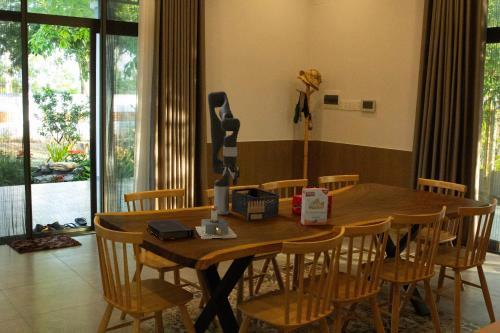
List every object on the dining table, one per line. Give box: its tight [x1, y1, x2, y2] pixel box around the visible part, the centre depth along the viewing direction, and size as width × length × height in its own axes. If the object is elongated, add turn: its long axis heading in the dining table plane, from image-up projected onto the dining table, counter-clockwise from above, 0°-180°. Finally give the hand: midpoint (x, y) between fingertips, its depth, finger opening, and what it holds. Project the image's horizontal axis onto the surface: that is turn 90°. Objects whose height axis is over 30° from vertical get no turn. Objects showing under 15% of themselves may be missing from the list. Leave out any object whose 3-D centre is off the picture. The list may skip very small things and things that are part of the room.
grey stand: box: [195, 218, 238, 240], centre depth 300 cm, size 22×18×6 cm
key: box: [210, 205, 218, 223], centre depth 302 cm, size 4×4×12 cm
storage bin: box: [230, 187, 280, 218], centre depth 351 cm, size 29×19×13 cm
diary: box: [145, 219, 195, 239], centre depth 298 cm, size 19×25×5 cm
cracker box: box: [300, 187, 329, 226], centre depth 325 cm, size 14×6×21 cm, turn 105°
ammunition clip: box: [246, 200, 266, 222], centre depth 331 cm, size 11×2×12 cm, turn 111°
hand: (229, 183), depth 311 cm, fingers open, 8 cm apart
